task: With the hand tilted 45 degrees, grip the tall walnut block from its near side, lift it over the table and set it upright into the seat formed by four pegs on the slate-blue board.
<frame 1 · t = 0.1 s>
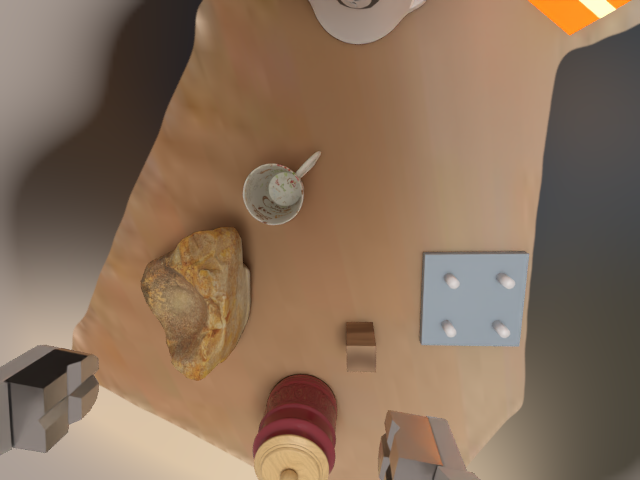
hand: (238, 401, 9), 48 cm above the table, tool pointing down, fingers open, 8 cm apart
rough brown rock: (208, 276, 61), on the table
peg seat: (469, 297, 58), on the table
walnut block: (359, 333, 61), on the table
mug: (294, 179, 56), on the table
canister: (303, 402, 65), on the table
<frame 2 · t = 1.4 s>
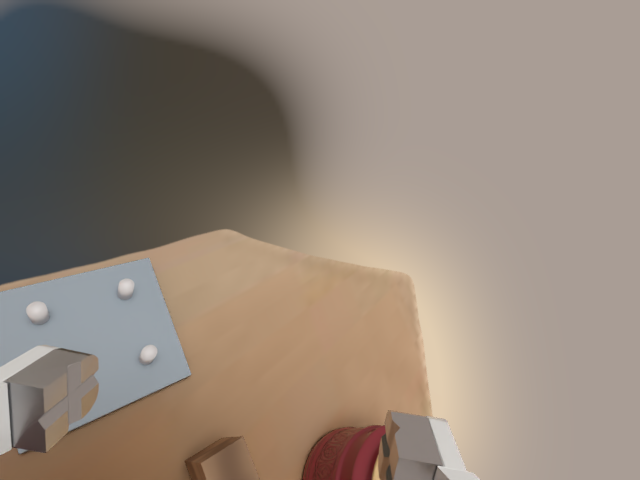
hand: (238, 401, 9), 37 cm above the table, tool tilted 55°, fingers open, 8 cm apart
peg seat: (95, 341, 39), on the table
walnut block: (211, 468, 39), on the table
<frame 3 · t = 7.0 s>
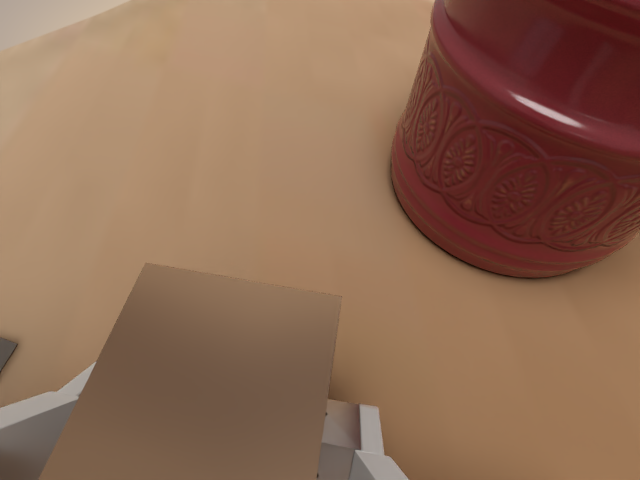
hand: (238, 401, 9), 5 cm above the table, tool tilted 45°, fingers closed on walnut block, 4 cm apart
walnut block: (255, 420, 13), on the table, touching gripper
canister: (492, 187, 21), on the table
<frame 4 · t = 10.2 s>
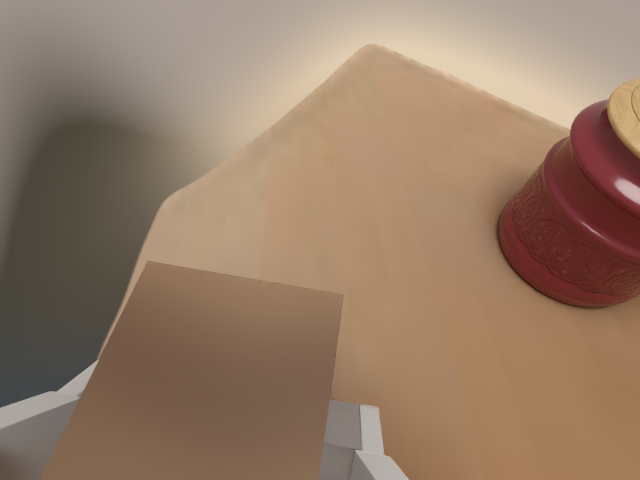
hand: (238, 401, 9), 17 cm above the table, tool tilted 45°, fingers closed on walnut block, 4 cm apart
walnut block: (257, 418, 13), point 13 cm above the table, touching gripper
canister: (561, 248, 33), on the table
when the fingers open (7 cm above the table, at t = 13.6 s): walnut block stays where it is, resting on peg seat.
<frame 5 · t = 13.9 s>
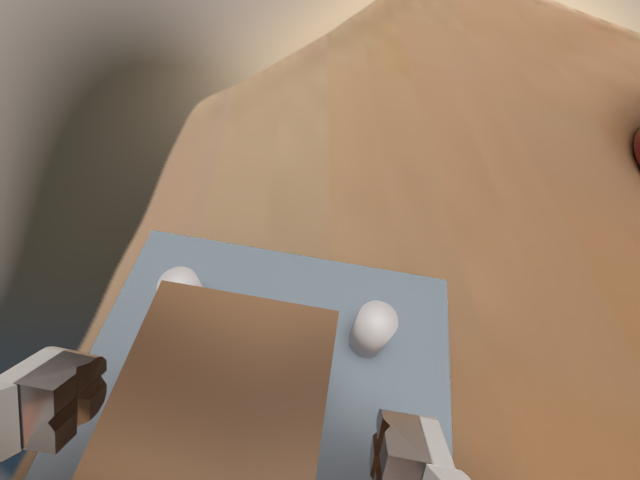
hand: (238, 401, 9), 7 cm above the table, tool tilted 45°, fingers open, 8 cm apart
peg seat: (261, 423, 15), on the table
walnut block: (259, 421, 14), point 1 cm above the table, touching peg seat
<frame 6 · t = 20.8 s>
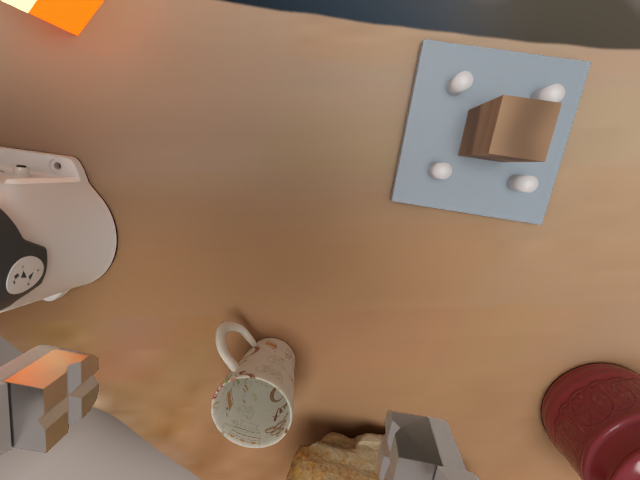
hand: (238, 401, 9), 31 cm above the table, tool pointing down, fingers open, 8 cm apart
rough brown rock: (367, 470, 47), on the table
peg seat: (479, 137, 36), on the table
walnut block: (485, 136, 35), point 1 cm above the table, touching peg seat
mug: (262, 345, 44), on the table
canister: (592, 406, 42), on the table
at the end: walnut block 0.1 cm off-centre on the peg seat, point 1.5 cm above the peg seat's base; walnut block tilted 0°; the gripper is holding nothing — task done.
